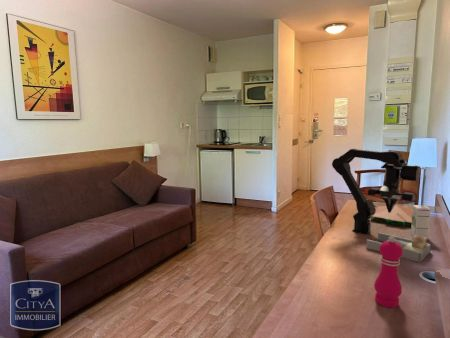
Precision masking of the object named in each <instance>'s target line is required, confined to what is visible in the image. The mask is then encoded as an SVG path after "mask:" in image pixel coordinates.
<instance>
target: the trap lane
mask: <svg viewBox="0 0 450 338" xmlns="http://www.w3.org/2000/svg"><path fill="white" fill-rule="evenodd" d="M391 236H392V237H394V238H395V242H396V243H398V244H399V245H400V246H401V247H402V250H403V254H402V256H401V257H400V258H402V259H407V260H411V261H415V262H418V263H422V262H423V260H424V259H425V258H426V257H427V256H428V255H429V254H430V253H431V243H427V242H426V247H425V248H423V249H419V248H414V247H412V239H409V238H406V237H401V236H396V235H393V234H388V233H383V232H377V240H371V239H366V243H365V244H366V249H369V250H374V251H377V252H380V251H379V248H380V245H381V244H382V243H383V242H385V241H389V240H388V238H389V237H391Z"/></svg>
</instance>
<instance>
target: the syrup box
mask: <svg viewBox="0 0 450 338" xmlns="http://www.w3.org/2000/svg"><path fill="white" fill-rule="evenodd" d="M412 208H413V212H412V223H411V224H410V235H411V236H412V238H413V237H414V236H415V235H417V236H422V237H426V240H428V239H429V233H430V232H429V229H430V217H431V208H430V207H428V206H427V205H419V204H417V205H415V204H414V205H413V206H412Z"/></svg>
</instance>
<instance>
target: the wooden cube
mask: <svg viewBox="0 0 450 338" xmlns="http://www.w3.org/2000/svg"><path fill="white" fill-rule="evenodd" d="M411 240H412V247H414V248H419V249H423V248H425V247H426V243H427V239H426V237H422V236H417V235H415V236H414V237H413V236H412V239H411Z"/></svg>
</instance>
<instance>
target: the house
mask: <svg viewBox="0 0 450 338" xmlns="http://www.w3.org/2000/svg"><path fill="white" fill-rule="evenodd" d="M375 209H376V212H375V214H374V215H373V216H371V218H370V221H373V220H374V219H376V221H379V222H380V223H381V219H382V222H383V221H384V223H386V224H389V223H390V224H391V226H392V225H395V222H396V223H399V224H397V226H398V227H402V228H403V227H404V226H410V224H412V212H413V206H412V207H411V206H407V205H403V206H402V205H399V204H395V205H394V207H393V209H392V211H391V213H389V212H388V210H387V206H386V205H379V206H377V207H376V208H375ZM399 225H400V226H399Z"/></svg>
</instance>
